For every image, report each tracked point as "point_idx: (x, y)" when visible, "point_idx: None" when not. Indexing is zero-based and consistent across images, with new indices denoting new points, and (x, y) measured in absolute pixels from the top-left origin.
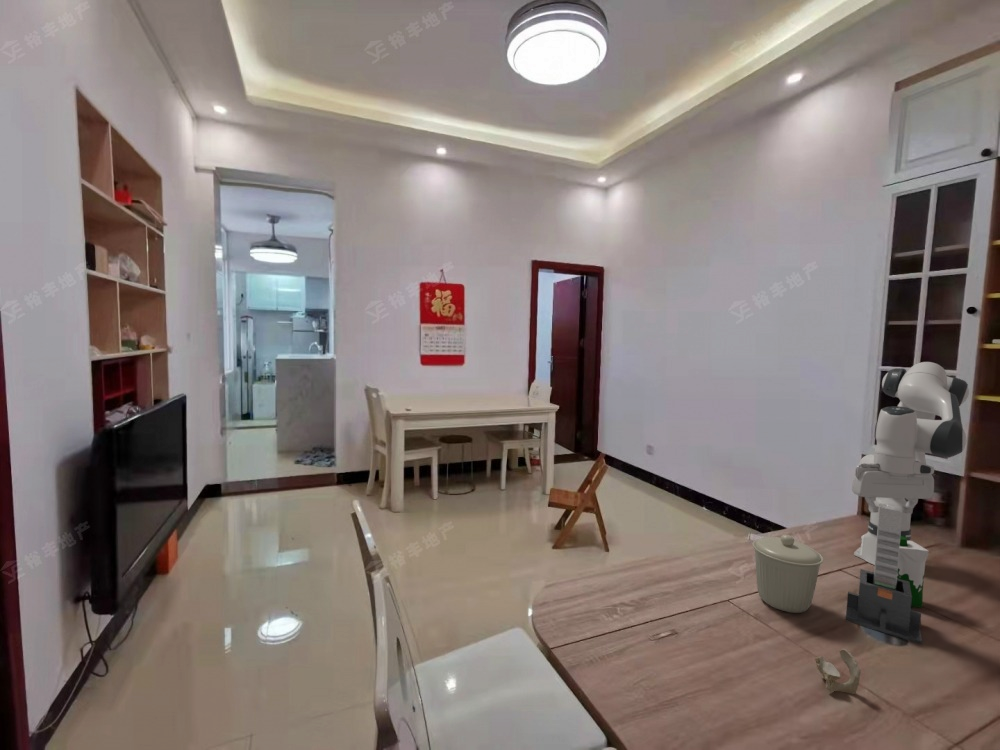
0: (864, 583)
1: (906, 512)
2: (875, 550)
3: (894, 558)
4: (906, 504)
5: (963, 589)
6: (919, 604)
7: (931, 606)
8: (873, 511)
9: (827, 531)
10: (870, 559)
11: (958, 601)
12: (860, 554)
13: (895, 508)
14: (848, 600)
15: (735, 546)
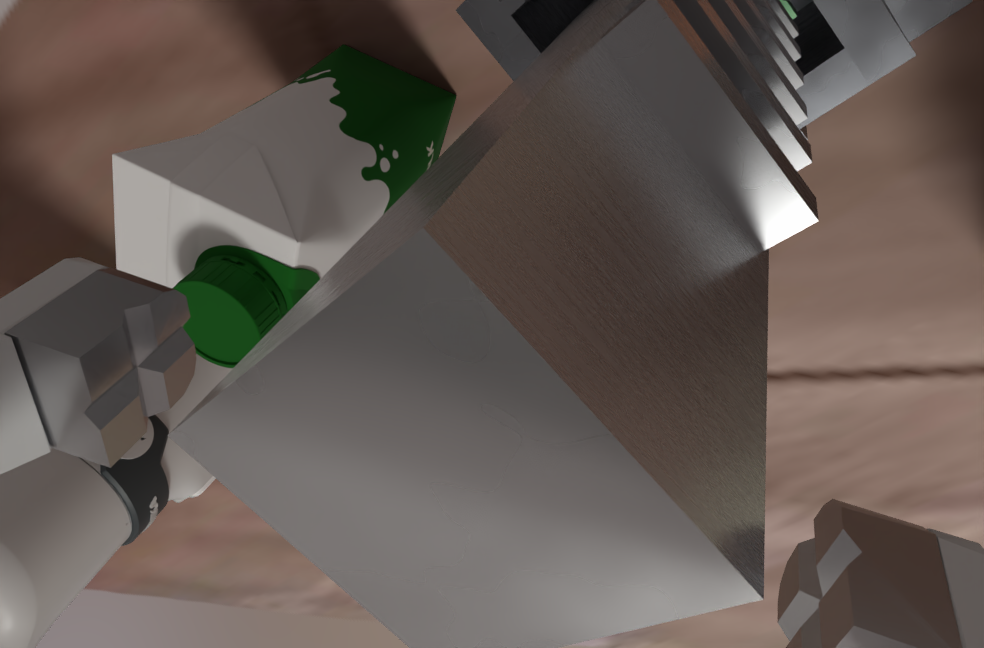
0: (888, 35)
1: (171, 304)
2: None
3: None
4: (5, 458)
5: (34, 144)
6: (350, 52)
7: (285, 49)
8: (981, 554)
9: (234, 569)
10: None
11: (124, 65)
12: None
13: (382, 438)
14: None
15: (747, 640)
